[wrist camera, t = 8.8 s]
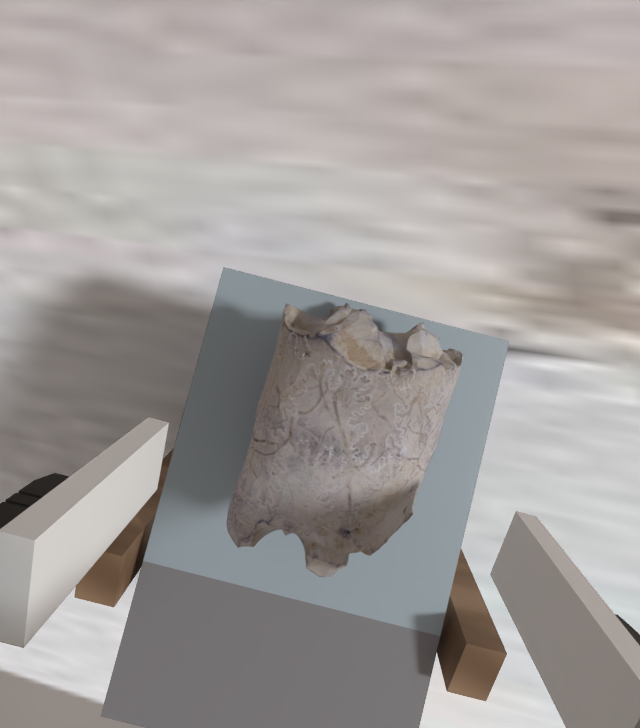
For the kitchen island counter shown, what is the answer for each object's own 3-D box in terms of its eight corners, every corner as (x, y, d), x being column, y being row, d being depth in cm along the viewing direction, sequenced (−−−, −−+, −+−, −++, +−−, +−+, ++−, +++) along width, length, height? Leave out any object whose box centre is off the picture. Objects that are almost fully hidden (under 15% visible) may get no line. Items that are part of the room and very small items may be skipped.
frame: (196, 408, 36) (73, 525, 19) (439, 470, 36) (524, 639, 19) (187, 459, 37) (62, 611, 20) (422, 519, 37) (488, 718, 21)
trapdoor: (237, 285, 26) (223, 267, 22) (479, 347, 26) (509, 341, 22) (134, 662, 25) (100, 716, 21) (389, 726, 25) (403, 792, 21)
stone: (233, 509, 21) (198, 569, 15) (299, 292, 22) (295, 252, 15) (379, 552, 22) (413, 631, 15) (440, 335, 22) (500, 314, 15)
